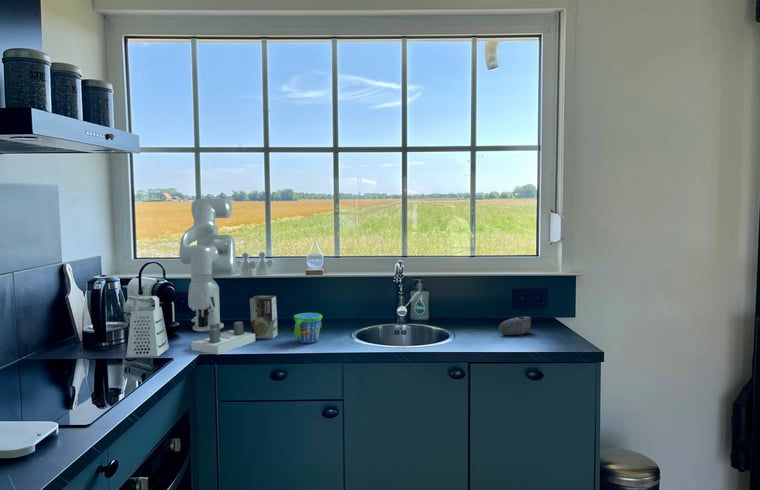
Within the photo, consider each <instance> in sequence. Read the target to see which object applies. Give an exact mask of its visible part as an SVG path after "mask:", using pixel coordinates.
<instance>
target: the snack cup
mask: <svg viewBox="0 0 760 490" xmlns="http://www.w3.org/2000/svg"><path fill="white" fill-rule="evenodd" d="M322 319H323V315H322V314H321V313H318V312H304V313H303V312H302V313H298V314H294V315H293V320H294V322H295V324H294V330H293V335H294V337H296V338H297V340H298V342H299V343H301V344H314V343H316V342H318V341H319V339H320V338H319V336H320V330H321V329H322V326H323V325H322Z"/></svg>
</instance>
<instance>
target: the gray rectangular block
mask: <svg viewBox="0 0 760 490" xmlns="http://www.w3.org/2000/svg"><path fill="white" fill-rule="evenodd" d="M233 331H234V333H233V334H234V335H241V334H244V332H245V331H244V322H243V321H235V322H234V323H233Z"/></svg>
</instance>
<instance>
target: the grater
mask: <svg viewBox="0 0 760 490" xmlns="http://www.w3.org/2000/svg"><path fill="white" fill-rule="evenodd" d="M139 299H152V300H153V301H154V306H140V307H139ZM132 303H133V304H132V305H133V310H131V311H130V320H129V330H128V331H129V332H128V340H127V350H126V358H146V357H148V358H149V357H151V358H152V357H159V356H160V355H161V354H163V353H164V352H165V351H167V350H168V349H169V348H170V347H169V346H170V345H169V342H168V341H169V340H168V335H167V330H166V324H165V319H164V315H163V314H164V313H163V309H162V306H160V298H159V297H158V296H157V295H140V296H138V297H135V299H133V302H132ZM140 352H141V353H140ZM147 352H148V353H147Z"/></svg>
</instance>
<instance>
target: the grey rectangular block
mask: <svg viewBox="0 0 760 490" xmlns="http://www.w3.org/2000/svg"><path fill="white" fill-rule="evenodd" d="M214 328H218V329H219V331H220V332H221V329H220V324H219V323H214V324H210V330H211V329H214ZM220 335H221V334H220ZM209 336H210V334H209ZM209 336H208V337H209Z"/></svg>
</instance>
